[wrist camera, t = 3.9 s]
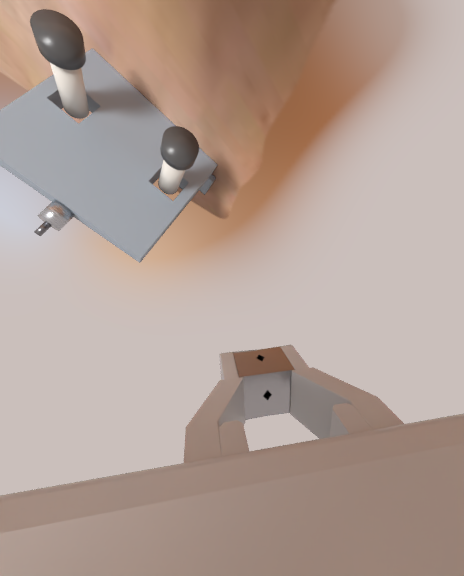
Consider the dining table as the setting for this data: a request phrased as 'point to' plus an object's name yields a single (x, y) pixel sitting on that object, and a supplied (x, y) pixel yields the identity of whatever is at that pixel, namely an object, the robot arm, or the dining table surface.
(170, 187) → the knob
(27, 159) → the mount
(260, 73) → the dining table surface
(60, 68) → the knob
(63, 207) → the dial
